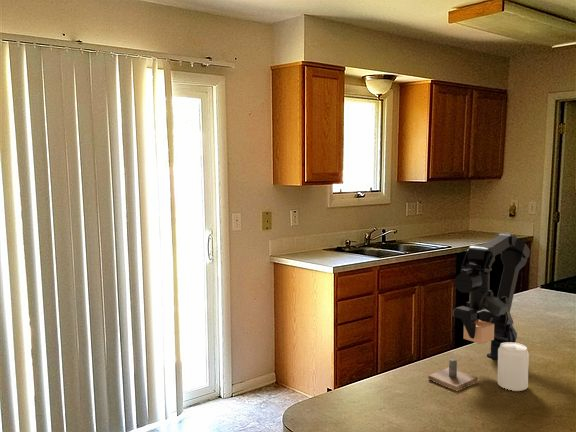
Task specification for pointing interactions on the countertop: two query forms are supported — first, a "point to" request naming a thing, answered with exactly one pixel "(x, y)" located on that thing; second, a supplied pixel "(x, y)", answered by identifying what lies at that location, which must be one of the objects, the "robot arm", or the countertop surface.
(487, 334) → the collar
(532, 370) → the countertop surface
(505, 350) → the beverage can
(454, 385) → the post stand
